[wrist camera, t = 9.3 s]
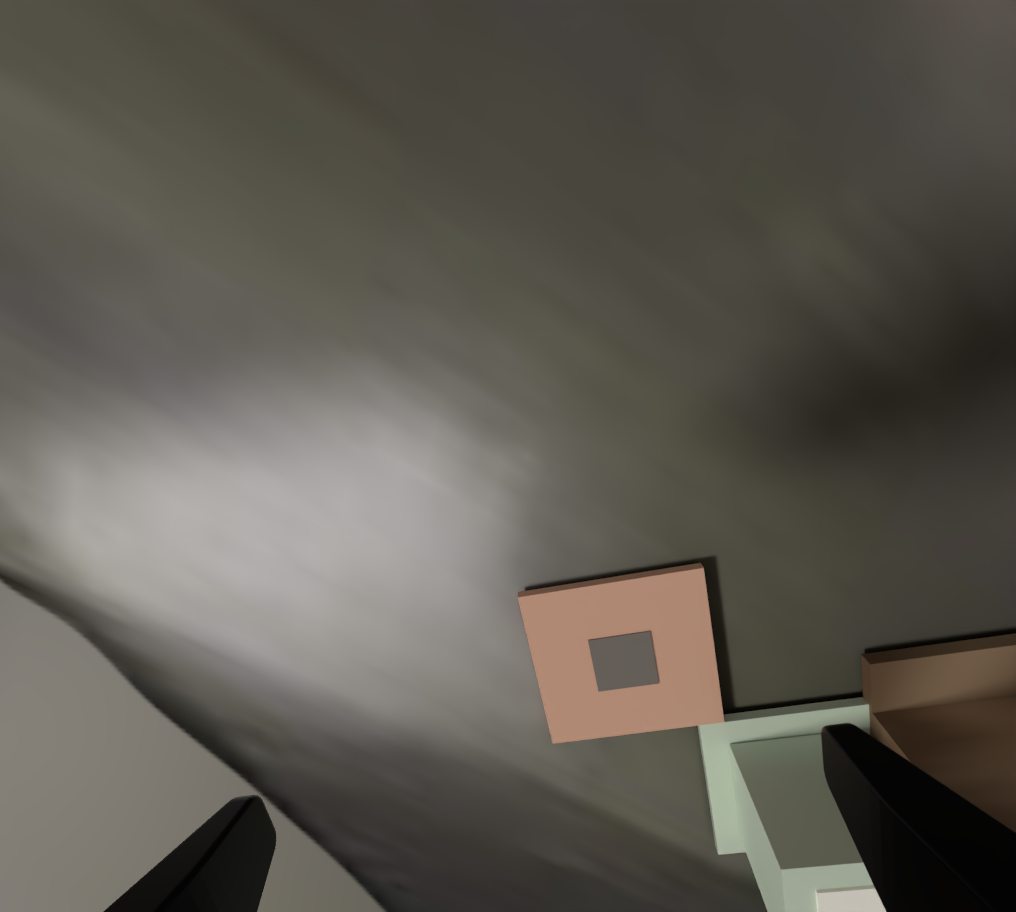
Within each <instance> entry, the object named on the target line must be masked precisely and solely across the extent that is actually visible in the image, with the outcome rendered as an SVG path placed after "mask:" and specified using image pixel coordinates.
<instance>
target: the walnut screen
mask: <svg viewBox="0 0 1016 912" xmlns="http://www.w3.org/2000/svg"><path fill="white" fill-rule="evenodd" d="M861 663H862V683H863V697H864V699H865V700H866V701H867V702H868V704H869V715H870V735H871V736H872V737H874V738H875V739H877V740H878V741H880V742H881V743H883V744H884V745H886V746H887V747H889V748H890V749H892V750H893V751H895V752H896V753H898V754H899V755H901V756H902V757H904V758H905V759H907V760H908V761H910V762H911V763H913V764H914V765H916V766H917V767H919V768H920V769H922V770H923V771H925V772H926V773H928V774H929V775H931V776H932V777H934V778H935V779H937V780H938V781H940V782H941V783H943V784H944V785H946V786H947V787H949V788H950V789H952V790H953V791H955V792H956V793H957V794H959V795H960V796H962V797H963V798H965V799H966V800H968V801H969V802H971V803H972V804H974V805H975V806H977V807H978V808H980V809H981V810H983V811H984V812H986V813H987V814H989V815H990V816H992V817H993V818H995V819H996V820H998V821H999V822H1001V823H1002V824H1004V825H1005V826H1007V827H1008V828H1010V829H1011V830H1013V831H1014V832H1016V633H1015V634H1007V635H1000V636H993V637H985V638H978V639H971V640H963V641H956V642H948V643H941V644H934V645H926V646H919V647H912V648H904V649H897V650H889V651H882V652H875V653H867V654H861Z"/></svg>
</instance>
